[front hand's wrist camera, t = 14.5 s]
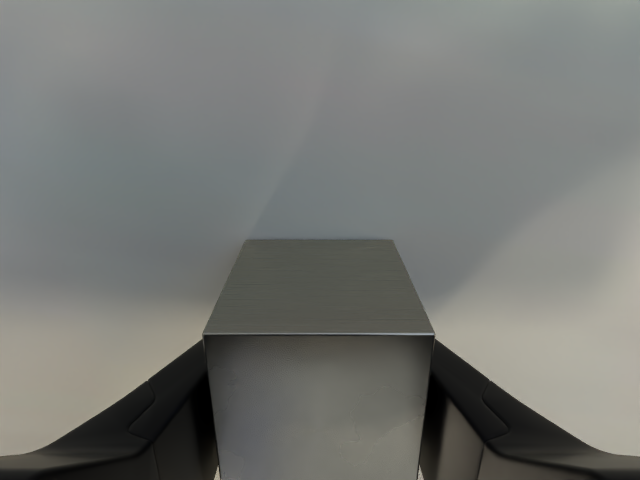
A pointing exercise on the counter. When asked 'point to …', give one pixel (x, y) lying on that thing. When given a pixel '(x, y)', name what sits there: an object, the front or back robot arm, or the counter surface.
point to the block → (318, 363)
